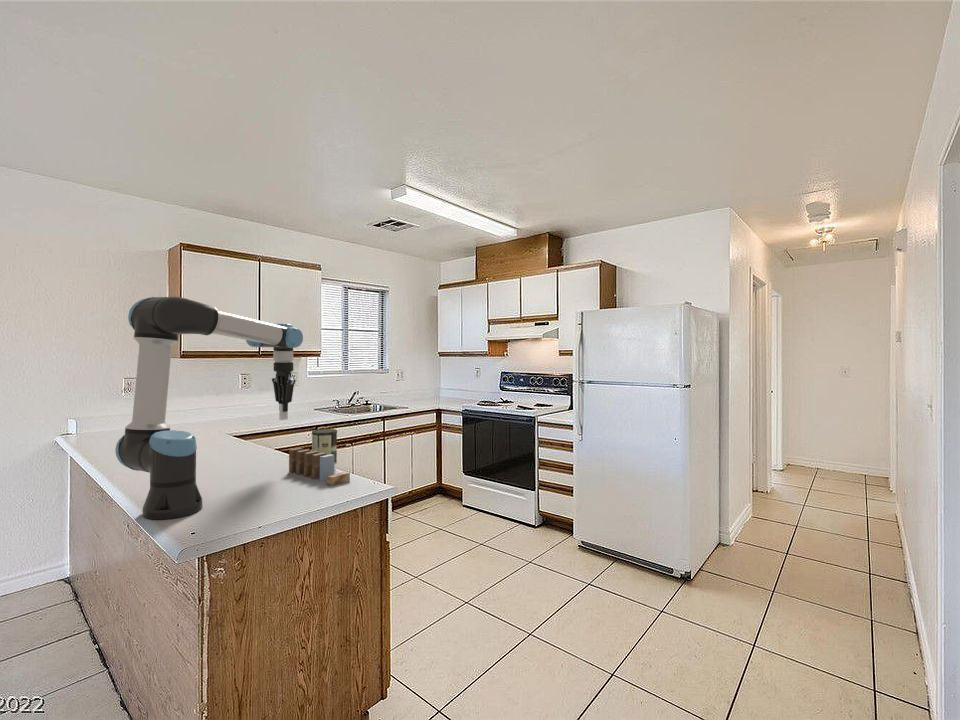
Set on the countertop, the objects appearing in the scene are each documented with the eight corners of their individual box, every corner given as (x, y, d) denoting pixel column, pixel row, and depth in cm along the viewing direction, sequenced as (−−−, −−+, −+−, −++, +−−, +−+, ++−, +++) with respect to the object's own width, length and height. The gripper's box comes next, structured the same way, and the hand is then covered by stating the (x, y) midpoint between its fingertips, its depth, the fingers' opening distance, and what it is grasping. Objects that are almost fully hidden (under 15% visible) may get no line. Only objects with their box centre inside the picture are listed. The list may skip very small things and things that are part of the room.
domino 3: (318, 474, 189) (318, 451, 189) (307, 477, 185) (307, 453, 185) (314, 473, 190) (315, 450, 190) (303, 476, 186) (304, 452, 186)
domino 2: (310, 472, 192) (310, 449, 192) (299, 475, 188) (299, 451, 188) (307, 471, 193) (307, 449, 193) (296, 474, 189) (296, 451, 189)
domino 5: (334, 478, 184) (334, 454, 184) (323, 481, 180) (323, 457, 180) (330, 477, 185) (331, 454, 185) (319, 480, 181) (320, 456, 181)
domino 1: (303, 470, 195) (303, 448, 195) (292, 473, 191) (292, 450, 190) (300, 469, 196) (300, 447, 196) (288, 472, 192) (289, 449, 192)
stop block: (332, 485, 175) (332, 477, 174) (326, 484, 176) (326, 475, 176) (349, 480, 181) (349, 472, 181) (344, 479, 183) (344, 471, 183)
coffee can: (328, 459, 214) (329, 427, 214) (341, 463, 207) (341, 430, 207) (306, 463, 207) (307, 430, 206) (319, 467, 199) (319, 433, 199)
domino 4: (326, 476, 187) (326, 453, 186) (315, 479, 182) (315, 455, 182) (322, 475, 188) (323, 452, 188) (311, 478, 184) (311, 454, 183)
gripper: (301, 362, 197) (301, 419, 197) (282, 361, 204) (282, 416, 205) (284, 362, 191) (284, 422, 191) (265, 361, 198) (265, 418, 199)
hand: (283, 419), depth 198 cm, fingers closed
